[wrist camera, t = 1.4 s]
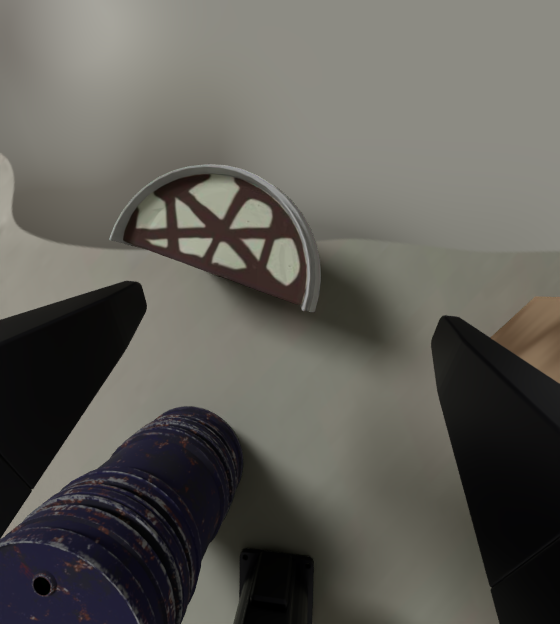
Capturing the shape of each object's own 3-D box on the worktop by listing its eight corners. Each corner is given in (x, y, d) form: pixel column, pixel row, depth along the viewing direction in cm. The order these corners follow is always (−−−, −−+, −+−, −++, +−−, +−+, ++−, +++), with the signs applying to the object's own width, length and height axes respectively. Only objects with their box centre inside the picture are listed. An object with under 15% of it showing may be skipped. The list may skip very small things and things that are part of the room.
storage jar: (243, 517, 27) (152, 782, 13) (141, 503, 29) (-51, 730, 14) (245, 408, 27) (152, 555, 12) (141, 400, 28) (-61, 522, 13)
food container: (342, 234, 25) (358, 195, 15) (316, 305, 25) (313, 314, 15) (204, 187, 26) (132, 123, 16) (182, 257, 26) (100, 236, 17)
